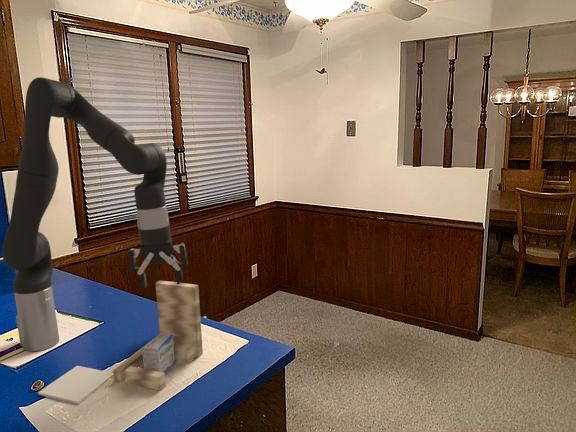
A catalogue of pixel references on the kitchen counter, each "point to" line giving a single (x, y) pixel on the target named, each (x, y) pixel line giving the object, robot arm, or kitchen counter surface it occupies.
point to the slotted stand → (172, 320)
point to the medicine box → (159, 353)
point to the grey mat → (76, 384)
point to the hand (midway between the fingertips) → (161, 285)
